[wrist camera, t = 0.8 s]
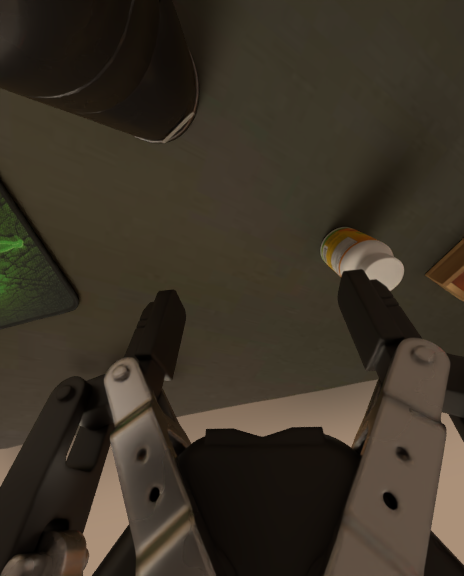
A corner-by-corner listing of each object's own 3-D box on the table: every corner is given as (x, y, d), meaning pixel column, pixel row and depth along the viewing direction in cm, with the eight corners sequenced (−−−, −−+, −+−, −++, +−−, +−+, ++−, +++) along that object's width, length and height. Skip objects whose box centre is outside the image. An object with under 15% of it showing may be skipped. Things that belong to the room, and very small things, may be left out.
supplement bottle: (368, 242, 30) (424, 271, 22) (337, 272, 32) (377, 309, 24) (341, 217, 29) (389, 238, 20) (310, 250, 31) (343, 282, 22)
